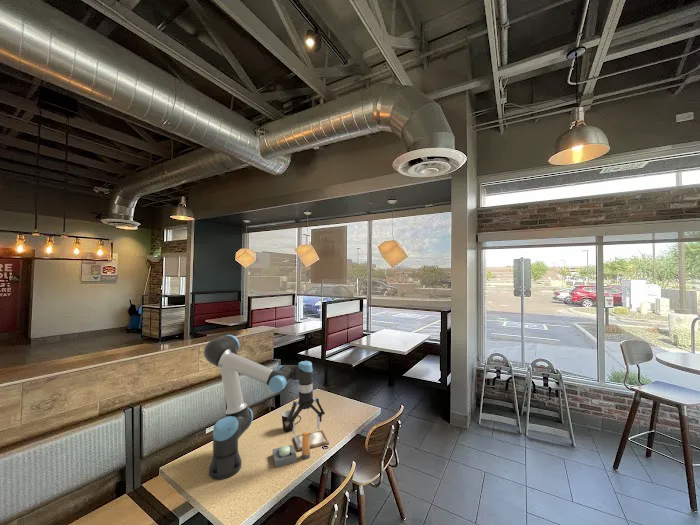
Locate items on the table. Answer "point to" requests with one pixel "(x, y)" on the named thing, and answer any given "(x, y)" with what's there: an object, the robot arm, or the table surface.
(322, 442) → the board
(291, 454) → the button housing
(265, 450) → the table surface
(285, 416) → the coffee mug
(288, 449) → the button
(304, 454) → the marker
